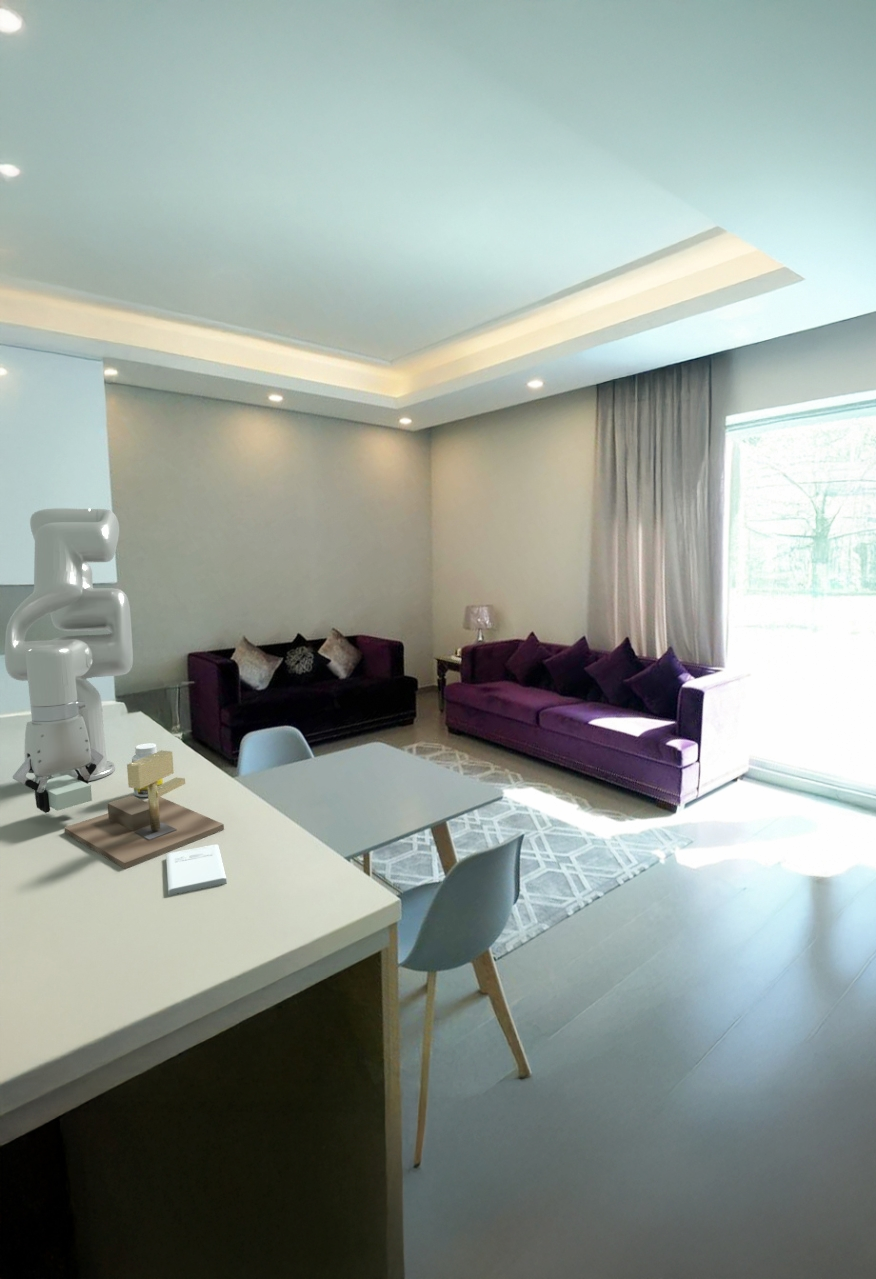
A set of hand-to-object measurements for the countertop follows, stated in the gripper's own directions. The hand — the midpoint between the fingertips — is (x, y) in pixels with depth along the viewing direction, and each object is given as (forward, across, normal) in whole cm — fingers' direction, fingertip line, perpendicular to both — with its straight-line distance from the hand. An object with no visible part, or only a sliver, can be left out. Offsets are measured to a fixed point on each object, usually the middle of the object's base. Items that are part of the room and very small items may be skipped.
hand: (63, 804), depth 121 cm
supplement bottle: (+3, -16, +1) cm, 16 cm away
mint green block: (-1, 0, 0) cm, 1 cm away
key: (+1, -8, +21) cm, 23 cm away
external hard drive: (+4, -4, +38) cm, 38 cm away
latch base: (+3, -6, +18) cm, 19 cm away
